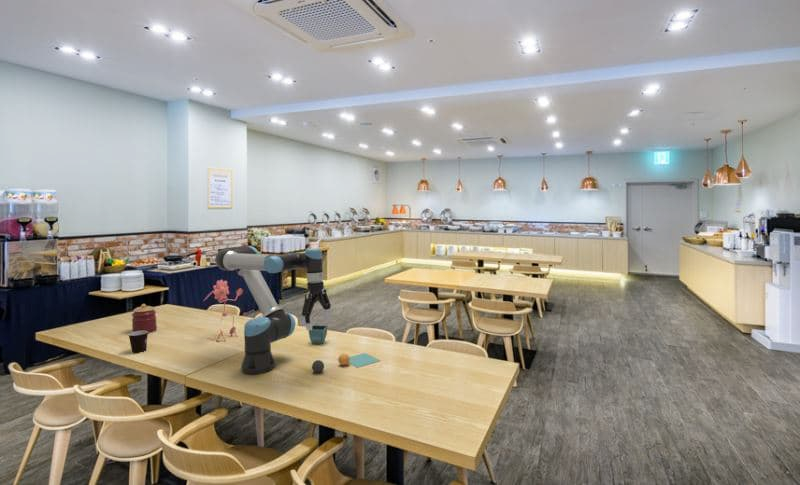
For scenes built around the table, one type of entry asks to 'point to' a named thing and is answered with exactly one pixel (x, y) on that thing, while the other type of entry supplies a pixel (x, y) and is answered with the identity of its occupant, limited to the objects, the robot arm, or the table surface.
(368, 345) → the table surface
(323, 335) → the flower pot
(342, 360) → the orange ball
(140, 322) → the canister
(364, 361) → the teal mark
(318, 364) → the black ball
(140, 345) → the coffee mug
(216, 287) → the pink stick figure
